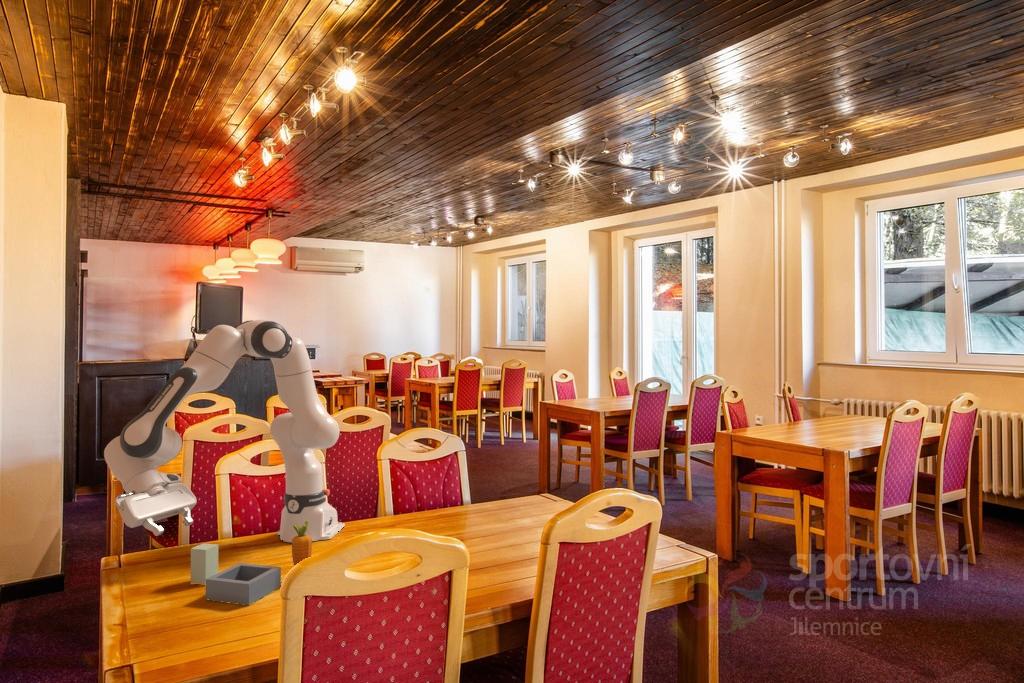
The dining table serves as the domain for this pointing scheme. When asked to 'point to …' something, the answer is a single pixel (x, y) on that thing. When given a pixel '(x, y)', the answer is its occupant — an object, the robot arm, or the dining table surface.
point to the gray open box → (243, 583)
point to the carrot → (301, 544)
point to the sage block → (203, 562)
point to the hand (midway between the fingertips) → (175, 528)
